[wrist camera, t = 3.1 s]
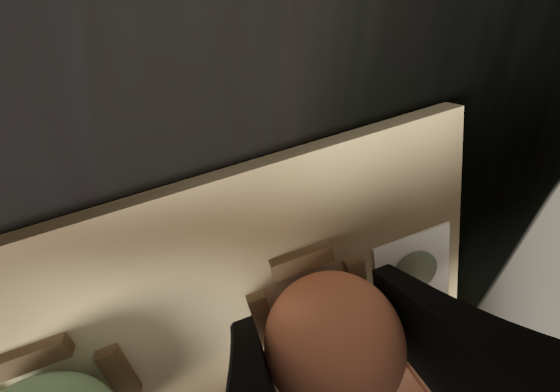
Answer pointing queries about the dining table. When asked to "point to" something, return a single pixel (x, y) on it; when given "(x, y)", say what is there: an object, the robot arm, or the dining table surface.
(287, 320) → the terracotta ball
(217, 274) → the board
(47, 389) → the sage ball
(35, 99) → the dining table surface
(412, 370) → the terracotta tube
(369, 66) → the dining table surface
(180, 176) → the dining table surface
